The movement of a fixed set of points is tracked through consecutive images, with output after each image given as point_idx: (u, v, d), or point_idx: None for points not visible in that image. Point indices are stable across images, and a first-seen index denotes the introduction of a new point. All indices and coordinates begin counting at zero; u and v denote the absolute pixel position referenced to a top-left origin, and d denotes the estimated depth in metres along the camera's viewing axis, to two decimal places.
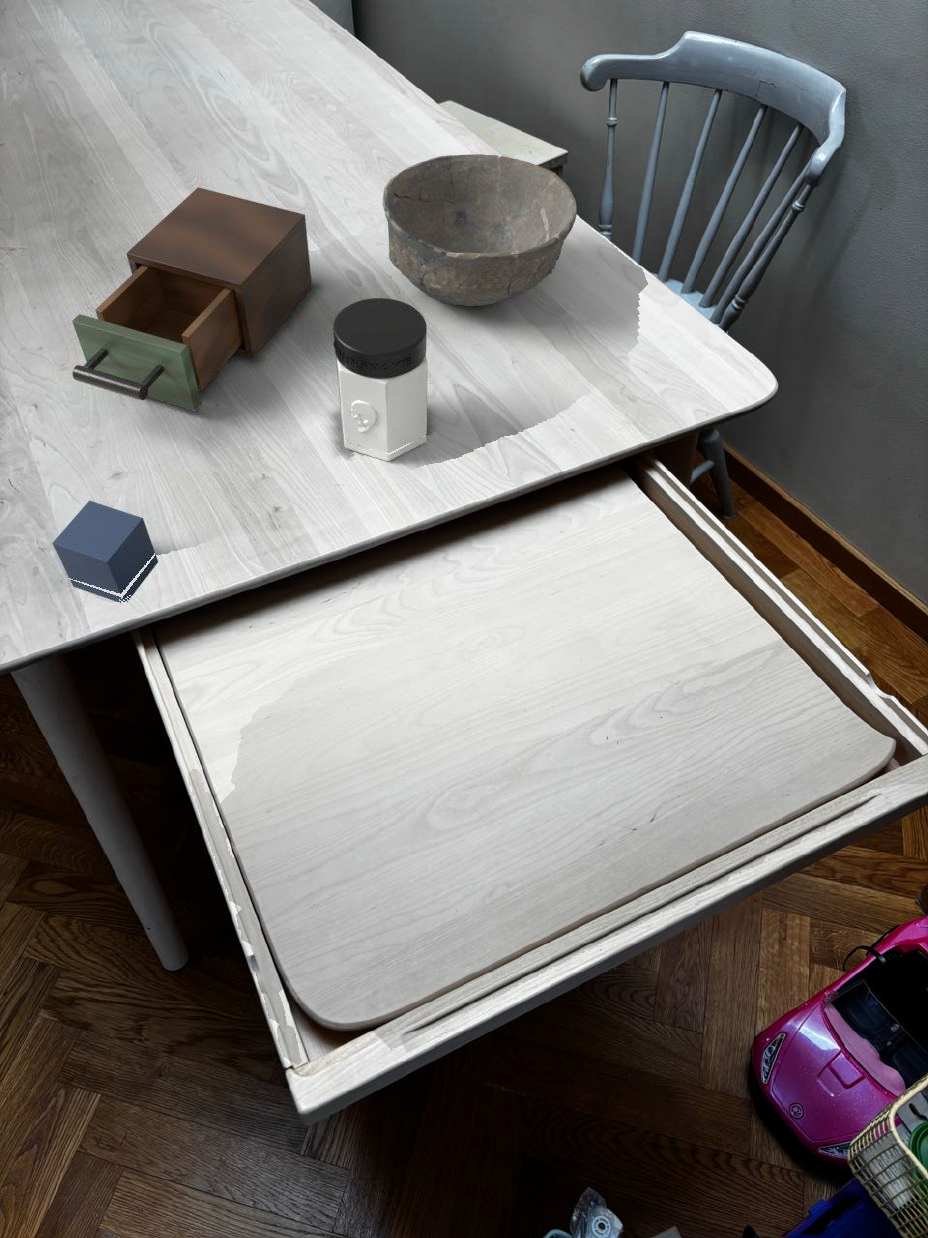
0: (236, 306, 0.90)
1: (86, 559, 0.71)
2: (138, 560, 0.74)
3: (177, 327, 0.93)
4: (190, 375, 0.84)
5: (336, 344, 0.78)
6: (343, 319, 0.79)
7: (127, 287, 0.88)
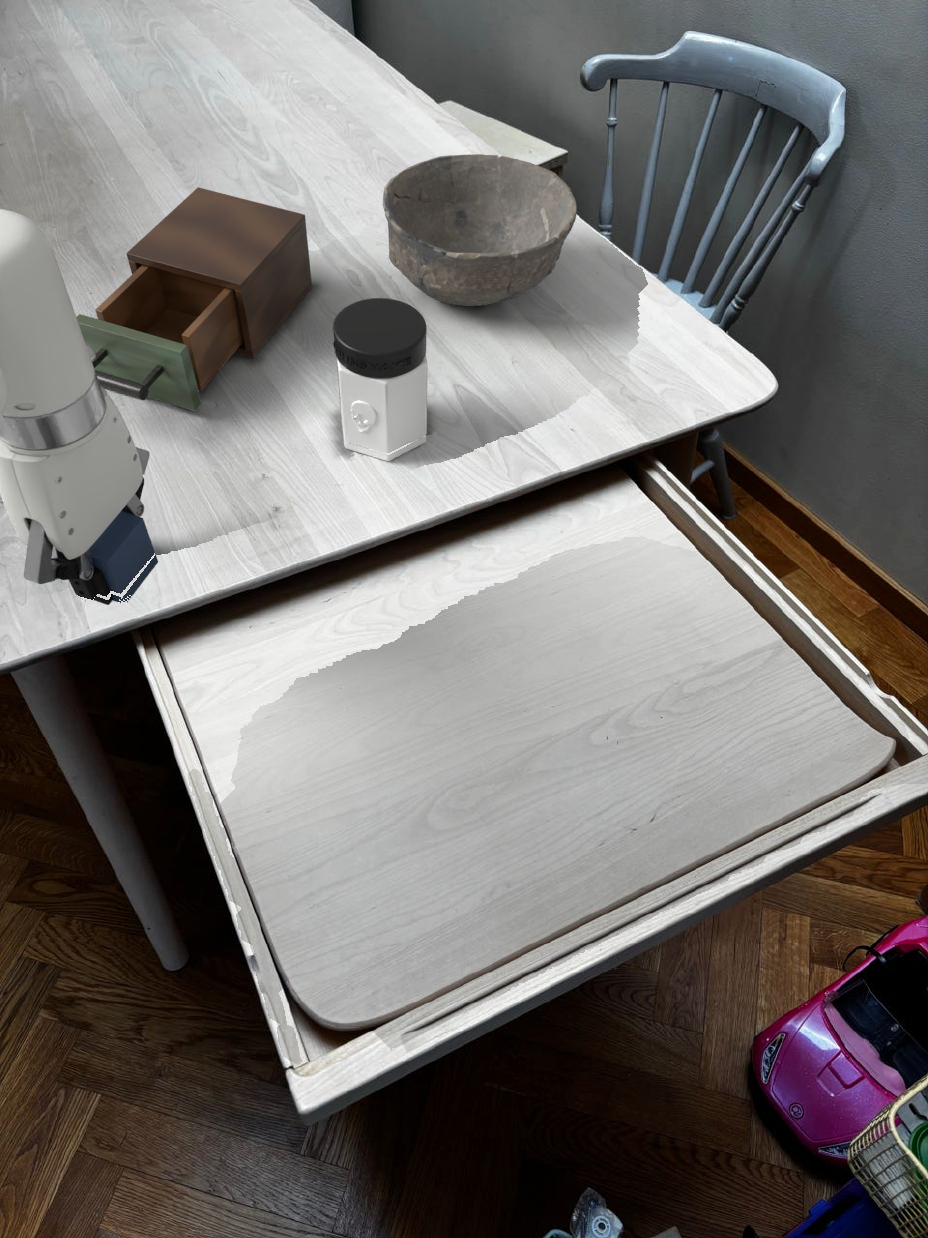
0: (236, 306, 0.90)
1: None
2: (138, 560, 0.74)
3: (177, 327, 0.93)
4: (190, 375, 0.84)
5: (336, 344, 0.78)
6: (343, 319, 0.79)
7: (127, 287, 0.88)
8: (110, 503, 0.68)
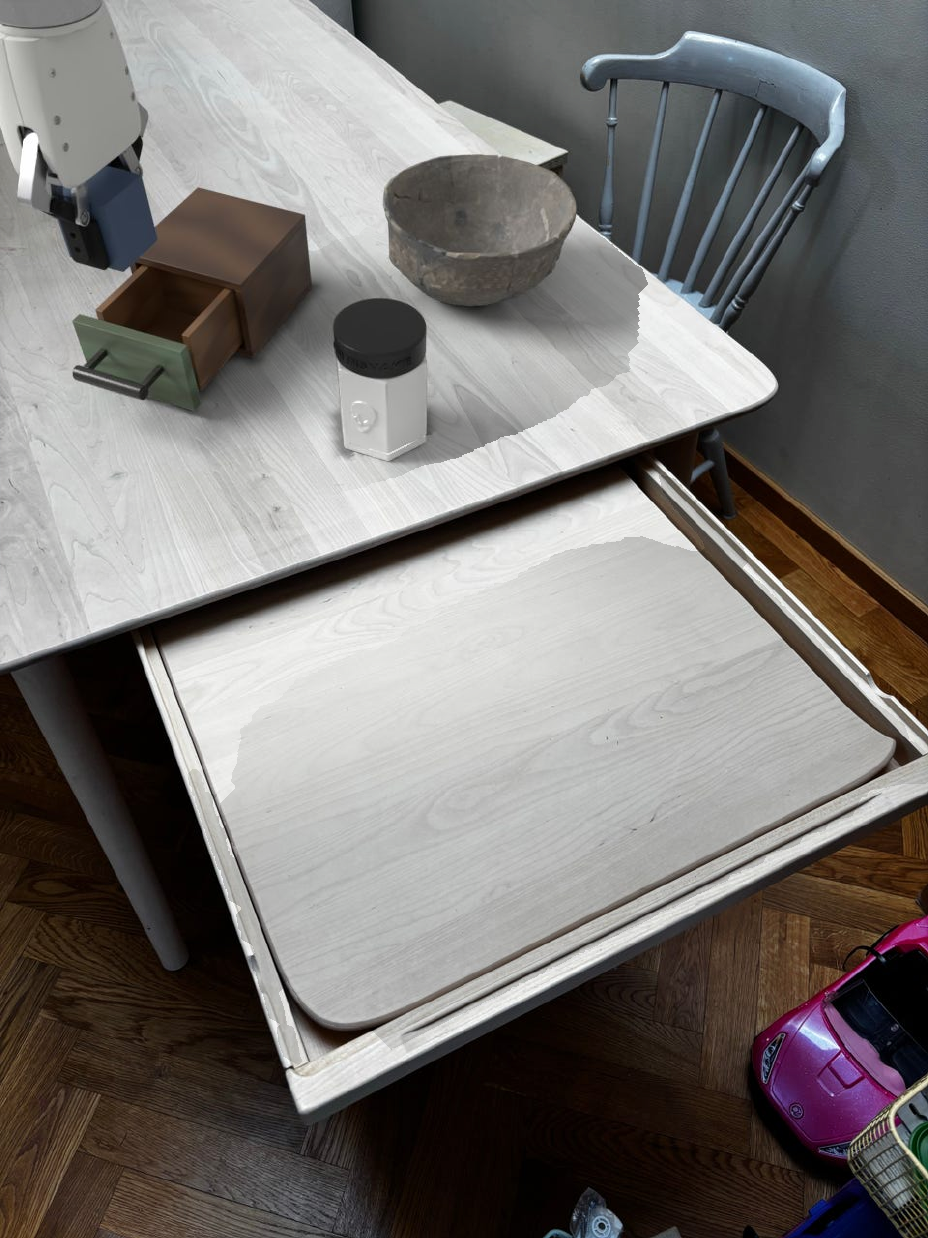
0: (236, 306, 0.90)
1: None
2: (136, 223, 0.72)
3: (177, 327, 0.93)
4: (190, 375, 0.84)
5: (336, 344, 0.78)
6: (343, 319, 0.79)
7: (127, 287, 0.88)
8: (107, 136, 0.66)
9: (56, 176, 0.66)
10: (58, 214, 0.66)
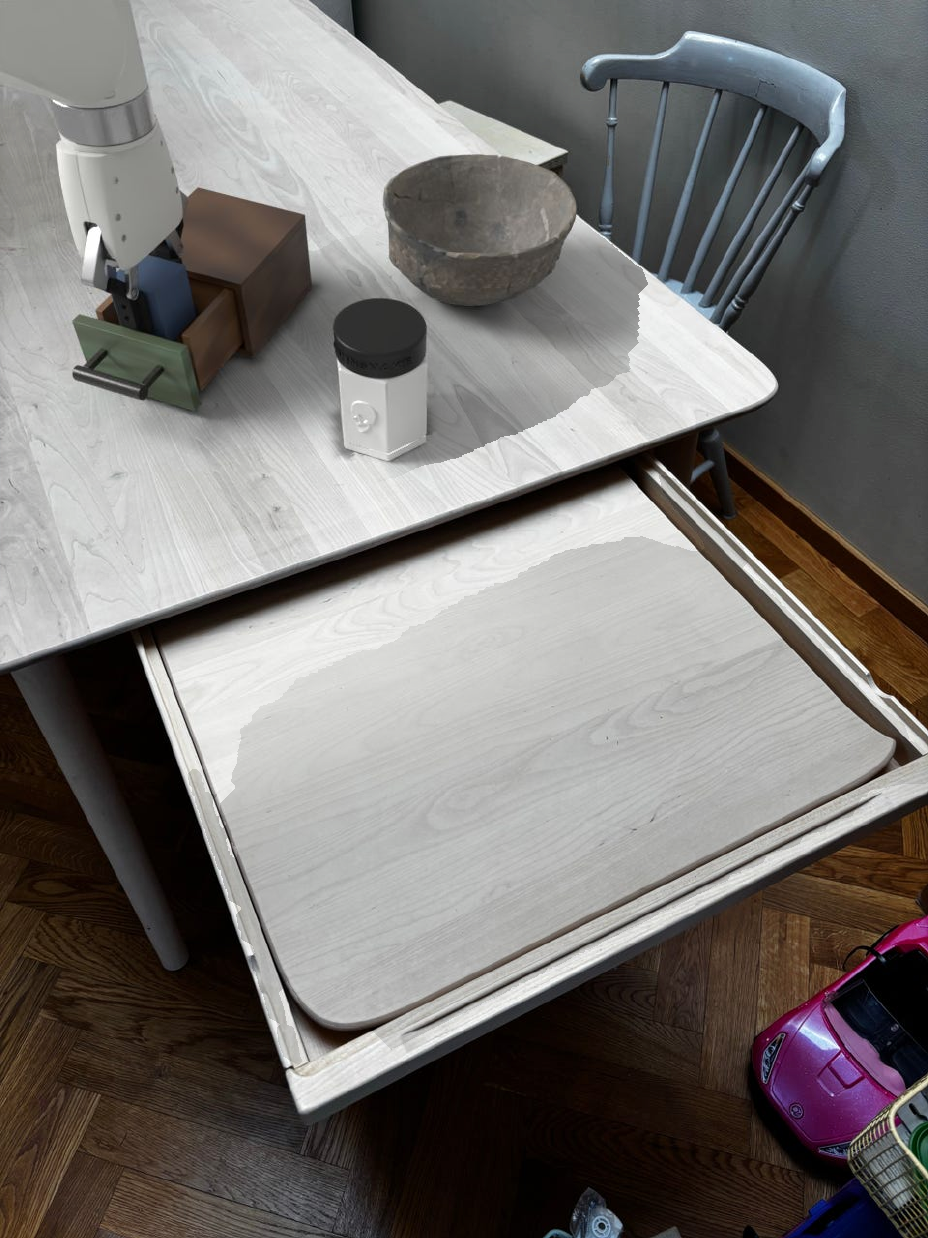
0: (236, 306, 0.90)
1: None
2: (180, 305, 0.85)
3: None
4: (190, 375, 0.84)
5: (336, 344, 0.78)
6: (343, 319, 0.79)
7: None
8: (156, 225, 0.78)
9: (112, 259, 0.78)
10: (113, 291, 0.78)
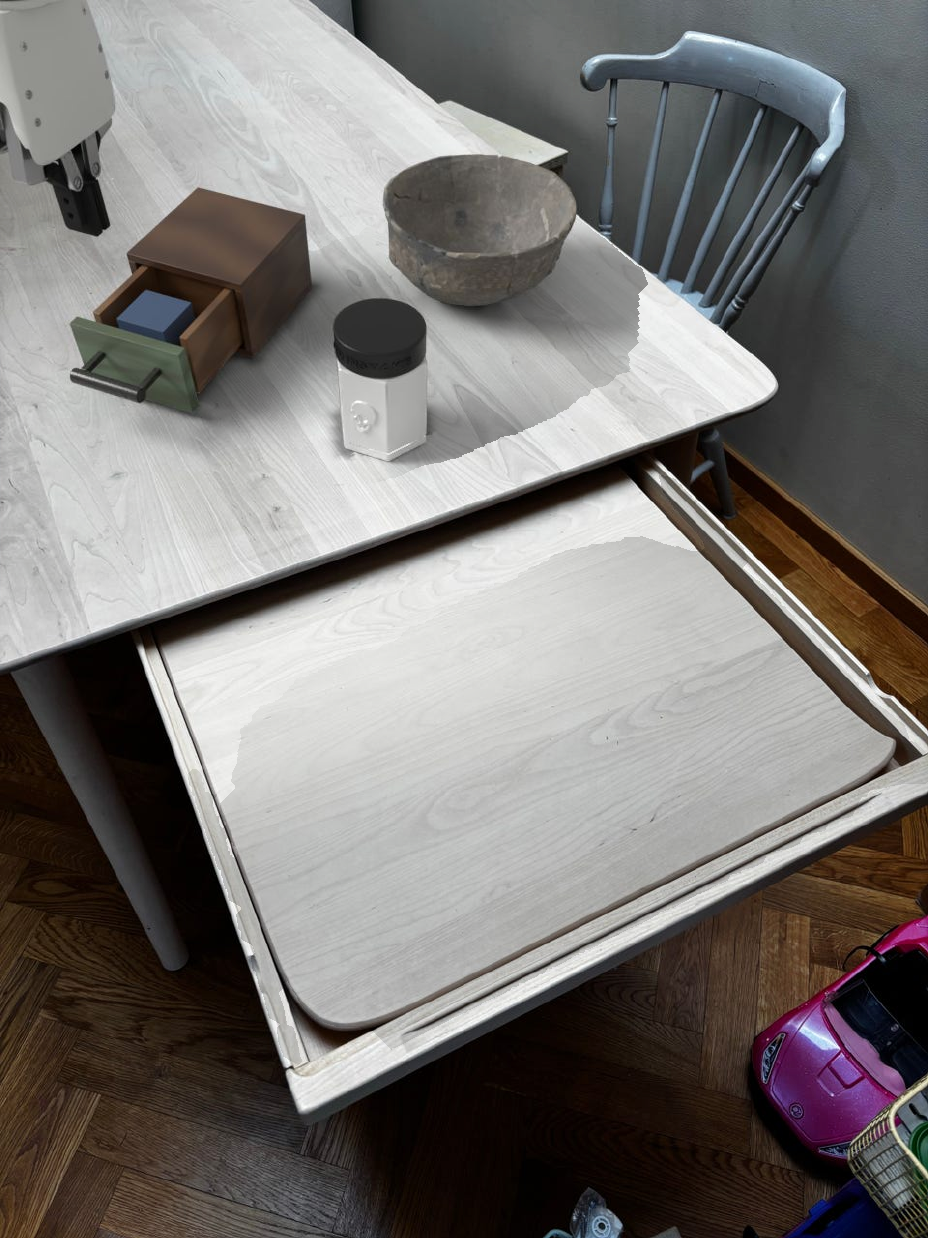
0: (234, 308, 0.89)
1: (144, 332, 0.85)
2: None
3: None
4: (187, 378, 0.84)
5: (336, 344, 0.78)
6: (343, 319, 0.79)
7: (125, 289, 0.87)
8: (80, 113, 0.66)
9: None
10: (52, 178, 0.67)
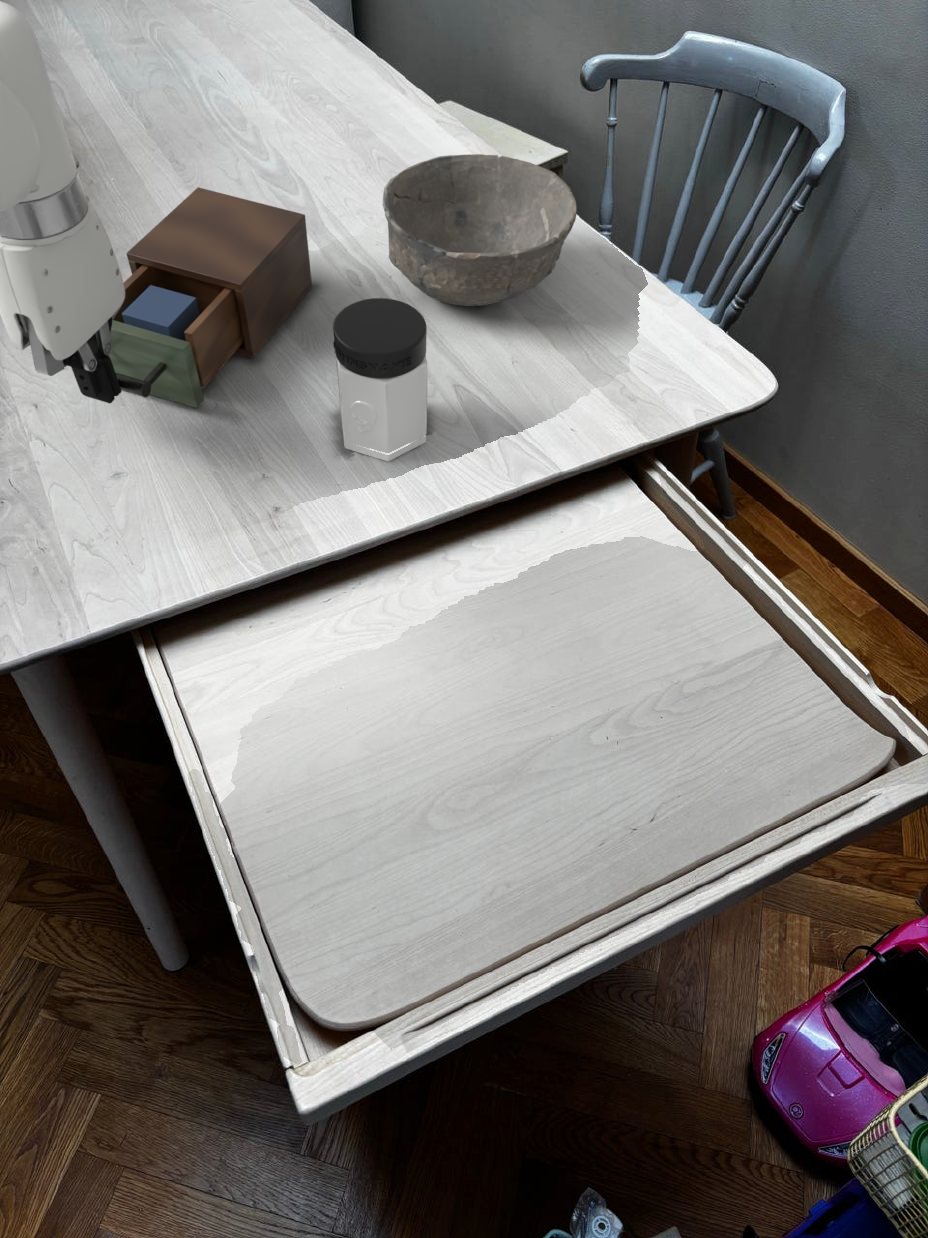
0: None
1: (149, 327, 0.85)
2: None
3: None
4: (192, 372, 0.85)
5: (336, 344, 0.78)
6: (343, 319, 0.79)
7: (130, 284, 0.88)
8: (94, 311, 0.74)
9: None
10: (69, 365, 0.76)
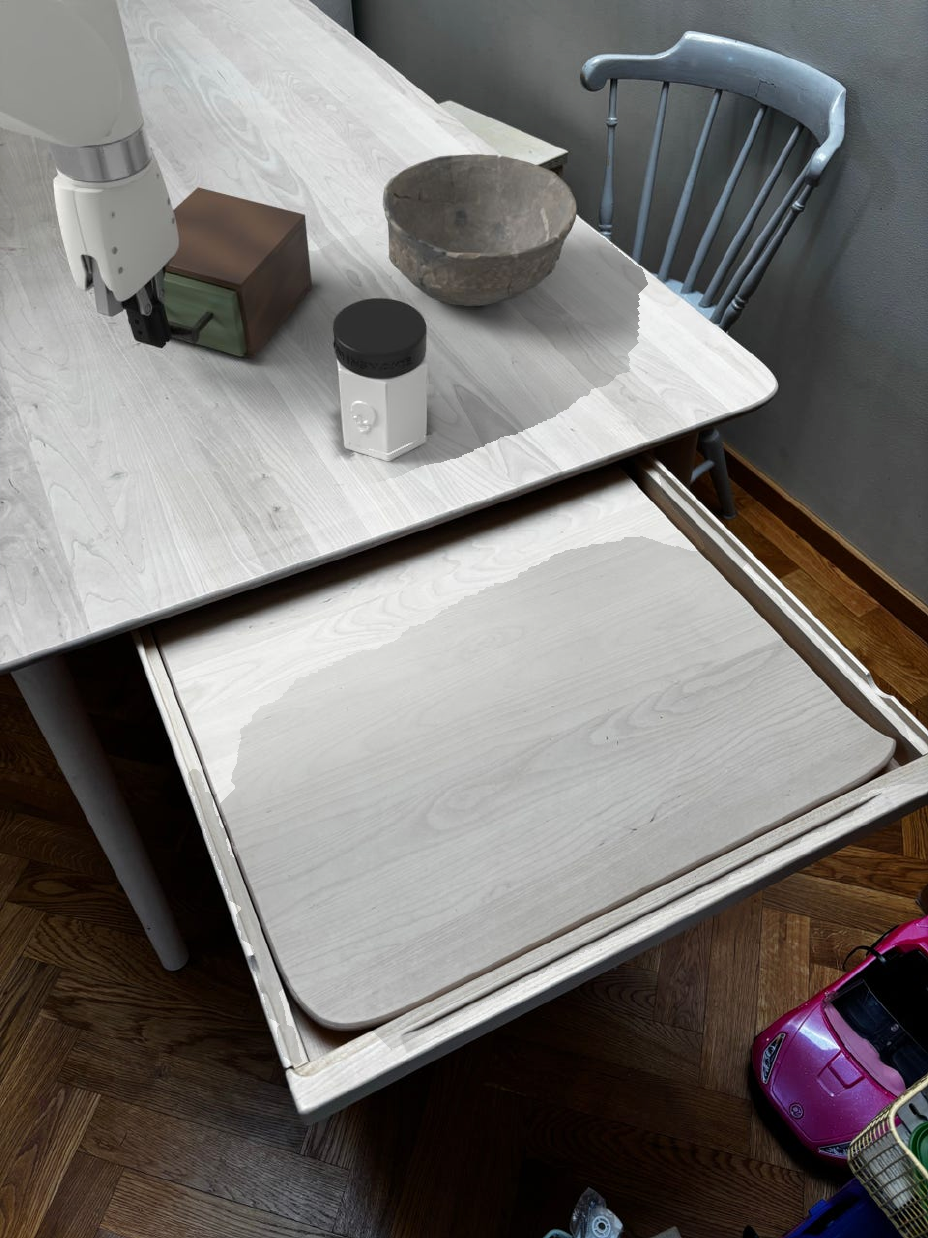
0: None
1: None
2: None
3: None
4: (238, 321, 0.90)
5: (336, 344, 0.78)
6: (343, 319, 0.79)
7: None
8: (152, 256, 0.79)
9: None
10: (128, 308, 0.81)
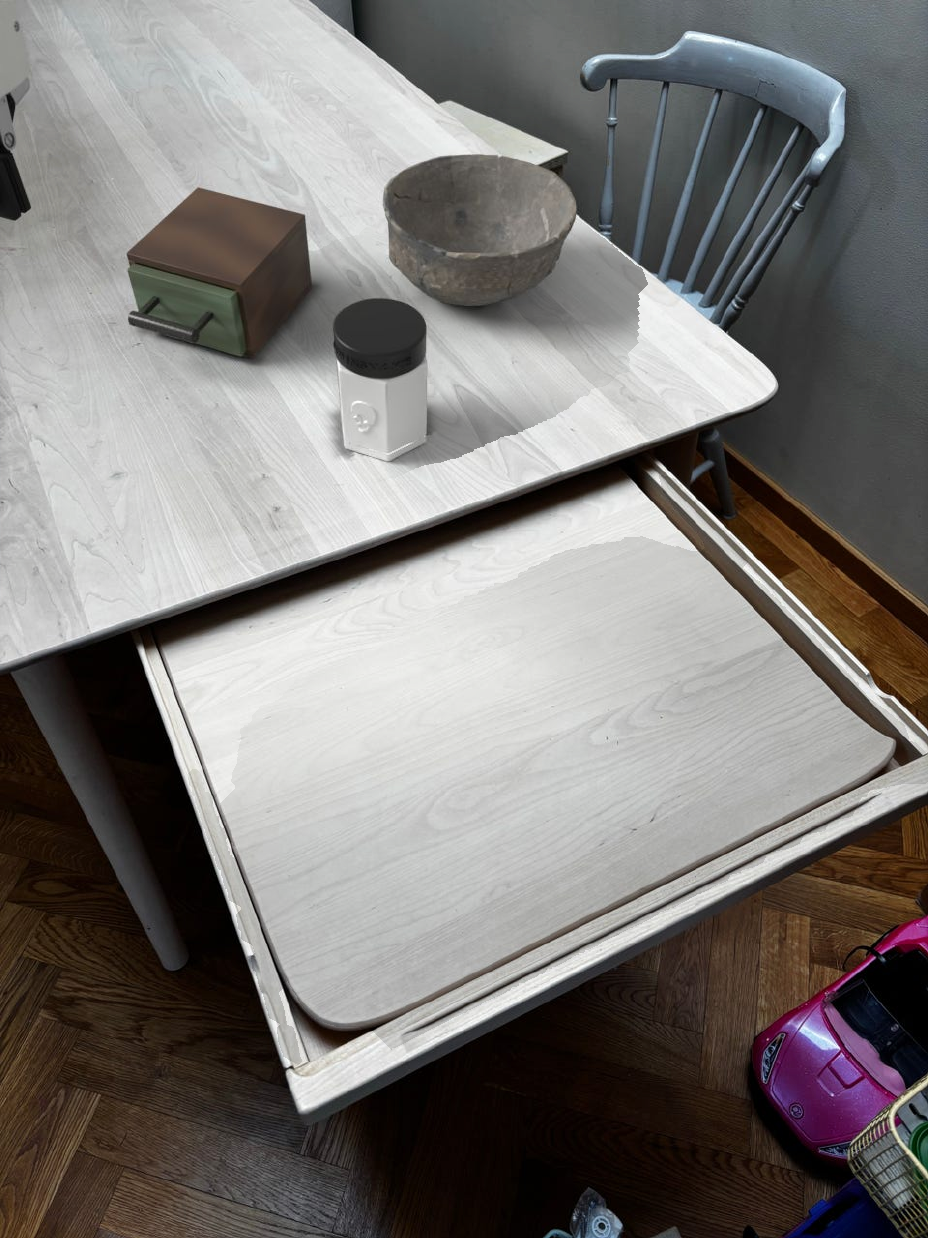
0: None
1: None
2: None
3: None
4: (238, 321, 0.90)
5: (336, 344, 0.78)
6: (343, 319, 0.79)
7: None
8: None
9: None
10: None
